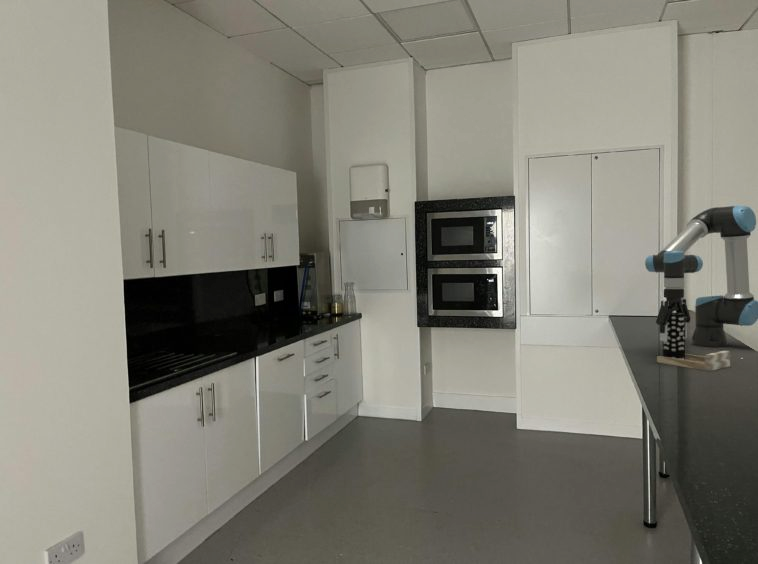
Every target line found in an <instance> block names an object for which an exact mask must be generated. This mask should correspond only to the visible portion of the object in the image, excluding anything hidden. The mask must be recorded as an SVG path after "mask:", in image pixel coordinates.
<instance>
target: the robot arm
mask: <svg viewBox="0 0 758 564" xmlns="http://www.w3.org/2000/svg"><path fill="white" fill-rule="evenodd" d="M756 217H757V216H756V214H755V212H754V210H753V209H752V208H751V207H750V206H748V205H733V206H732V205H730V206H719V207H718V206H717V207H711V208H708V209H705V210H703V211H702V212H700V213H698V214H697V215H695V216H694V217H692V219H690V220H689V221H687V224H686V227H685V228H684V229H683V230H682V231H680V233H678V235H676V236H675V237H674V238H673V239H672V240H671V241H670V242H669V243H668V244H667V245H666V246H665V247H664V248H663V249H662V250H661V251H660V252H658V253H657V254H653V255H651V254H650V255H648V256H647V257H646V258H645V262H644V264H645V269H646V271H648V272H650V273H656V274H657V273H663V288H664V289H663V297H664V298H665V300H661V301H660V308H659V311H658V314H657V318H656V320H655V324H656V325H659V341H660V342H661V341H662V342H663V341H667V325H666V323H667V321H668V319H669V317H670V315H671V313H672V312H676V313H685V339H687V338H688V323H690V322H691V315H690V312H689V309H688V305H687V299H685V298H684V297H685V289H684V288H685V274H694V273H698V272H700V271H701V269H702V268H703V266H704V263H703V262H704V261H703V260H702V258H701V256H699V255H697V254H685V253H686V252H687V251H688V250H689V249H691V248H692V246H693V245H695V243H696V242H698V241H699V240H700V239H703V238H705V237H707V235H709V234H720V238H721V239H722V240H723V241H724V253H725V271H726V272H725V273H726V291H727V292H726V294H725V295H709V296H701V297H697V298H696V299H695V305H694V308H695V312H694V313H695V314H694V315H695V328H694V331H693V334H692V337H691V341H690V342H691V344H692V345H694V346H700V347H714V348H719V347H727V346H728V345H729V344H728V343H729V341H728V338H727V334H726V332H725V329H724V325H734V326H741V327H742V326H744V327H745V326H746V327H748V326H749V327H751V326H753V325H754V324H756V322H757V321H758V300H756V299H755V297H754V294H753V293H751V292H750V277H749V275H750V273H749V258H748V257H749V256H748V255H749V254H748V239H749V238H750V237H751V232H753V231H754V230H755V229H756V226H757V218H756Z"/></svg>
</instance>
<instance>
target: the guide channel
mask: <svg viewBox="0 0 758 564" xmlns="http://www.w3.org/2000/svg"><path fill="white" fill-rule="evenodd" d="M657 362H658V363H659V364H664V365H671V366H677V367H684V368H689V369H696V370H700V371H701V370H702V371H707V372H712V371H716V370H721V369H724V368H729V367H730V366H731V351H730V350H721V351H717V352H716V351H715V352H711V353H708V354H707V353H706V354H704V355H697V354H691V353H685V360H684V359H677V358H671V357H664V356H663V355H658V356H656V363H657Z"/></svg>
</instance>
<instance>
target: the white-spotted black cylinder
mask: <svg viewBox="0 0 758 564" xmlns="http://www.w3.org/2000/svg"><path fill="white" fill-rule="evenodd" d="M666 325H667V341H662V356H664V357H671V358H677V359H684V360H685V354H686V338H685V313H676V311H673V312H672V313H671V315H670V317H669V319H668V321H667V323H666Z"/></svg>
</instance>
